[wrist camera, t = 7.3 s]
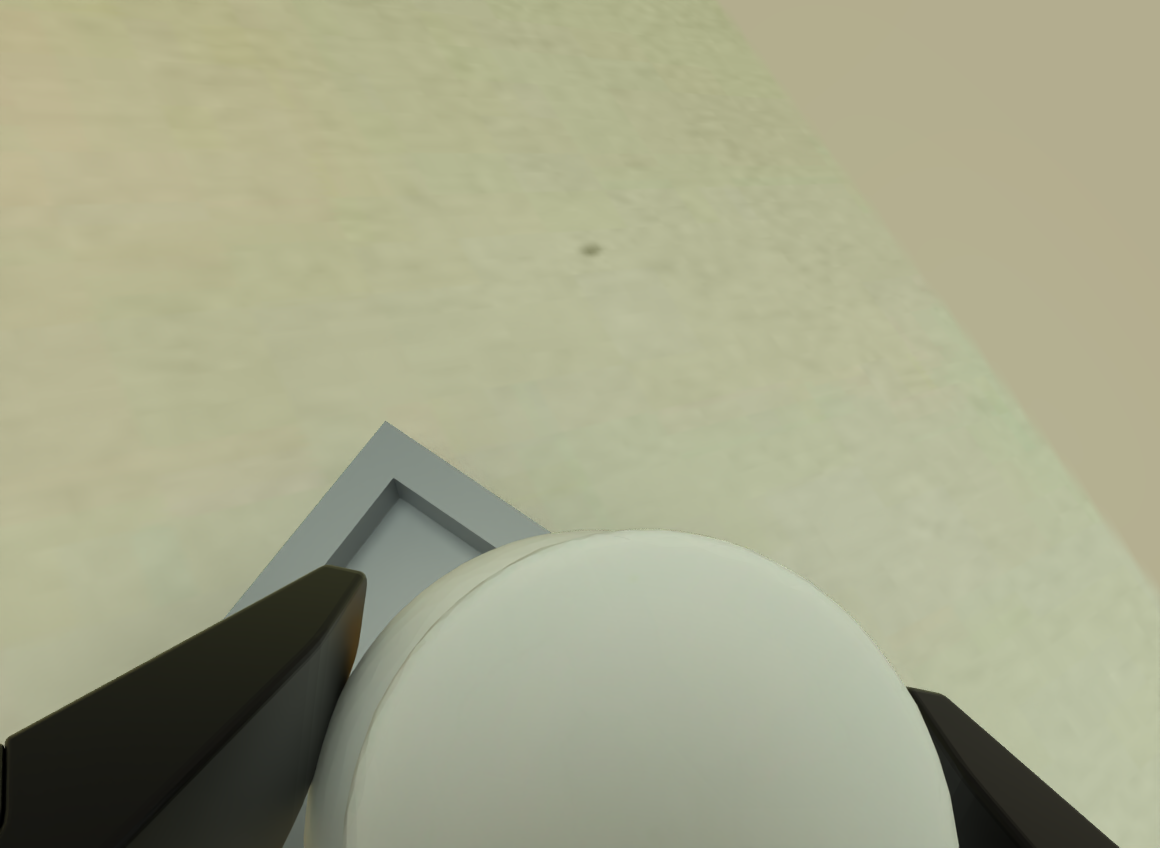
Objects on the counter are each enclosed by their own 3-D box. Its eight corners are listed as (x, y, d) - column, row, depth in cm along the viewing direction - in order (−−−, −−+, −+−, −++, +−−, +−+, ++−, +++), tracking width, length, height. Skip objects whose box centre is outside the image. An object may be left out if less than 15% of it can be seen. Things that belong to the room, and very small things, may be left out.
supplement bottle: (386, 1001, 13) (186, 1542, 4) (370, 639, 15) (209, 466, 6) (730, 941, 14) (1193, 1285, 5) (675, 603, 16) (939, 405, 7)
